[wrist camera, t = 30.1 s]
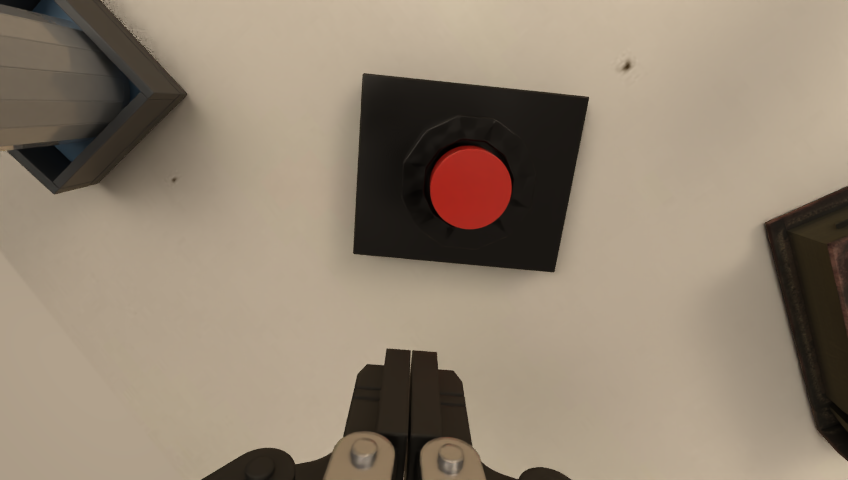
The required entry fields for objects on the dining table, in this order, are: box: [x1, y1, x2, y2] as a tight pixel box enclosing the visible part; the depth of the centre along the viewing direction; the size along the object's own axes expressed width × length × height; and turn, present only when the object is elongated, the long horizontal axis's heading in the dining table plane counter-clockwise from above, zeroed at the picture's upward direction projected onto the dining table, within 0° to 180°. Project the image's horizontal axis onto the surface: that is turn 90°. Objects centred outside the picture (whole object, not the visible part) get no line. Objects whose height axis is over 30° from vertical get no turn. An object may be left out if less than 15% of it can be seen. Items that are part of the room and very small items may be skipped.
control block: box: [353, 73, 589, 272], centre depth 25 cm, size 12×10×4 cm
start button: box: [430, 145, 512, 229], centre depth 22 cm, size 4×4×2 cm
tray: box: [0, 0, 187, 194], centre depth 23 cm, size 8×8×3 cm
